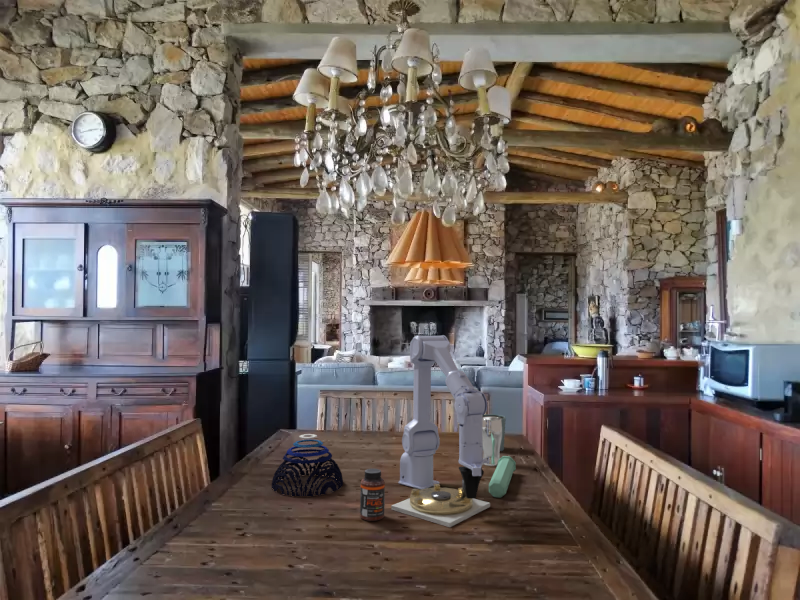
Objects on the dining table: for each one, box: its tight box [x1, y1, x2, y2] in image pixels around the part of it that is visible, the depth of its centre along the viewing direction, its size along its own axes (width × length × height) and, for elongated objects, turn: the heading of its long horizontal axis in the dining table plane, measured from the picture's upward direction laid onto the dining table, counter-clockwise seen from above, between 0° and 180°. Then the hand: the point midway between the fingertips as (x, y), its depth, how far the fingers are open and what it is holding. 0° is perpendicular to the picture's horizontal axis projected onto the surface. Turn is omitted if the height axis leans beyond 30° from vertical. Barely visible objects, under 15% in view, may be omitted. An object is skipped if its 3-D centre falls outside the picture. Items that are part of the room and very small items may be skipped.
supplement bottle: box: [359, 468, 386, 522], centre depth 132 cm, size 6×6×11 cm
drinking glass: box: [483, 413, 507, 452], centre depth 200 cm, size 10×10×12 cm
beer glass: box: [483, 416, 502, 467], centre depth 181 cm, size 7×7×15 cm
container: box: [488, 455, 517, 498], centre depth 158 cm, size 6×6×25 cm
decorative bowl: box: [271, 433, 344, 497], centre depth 158 cm, size 20×20×14 cm
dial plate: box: [391, 497, 491, 528], centre depth 139 cm, size 18×18×1 cm
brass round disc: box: [409, 478, 474, 515], centre depth 139 cm, size 16×16×6 cm
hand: (471, 497), depth 133 cm, fingers closed
